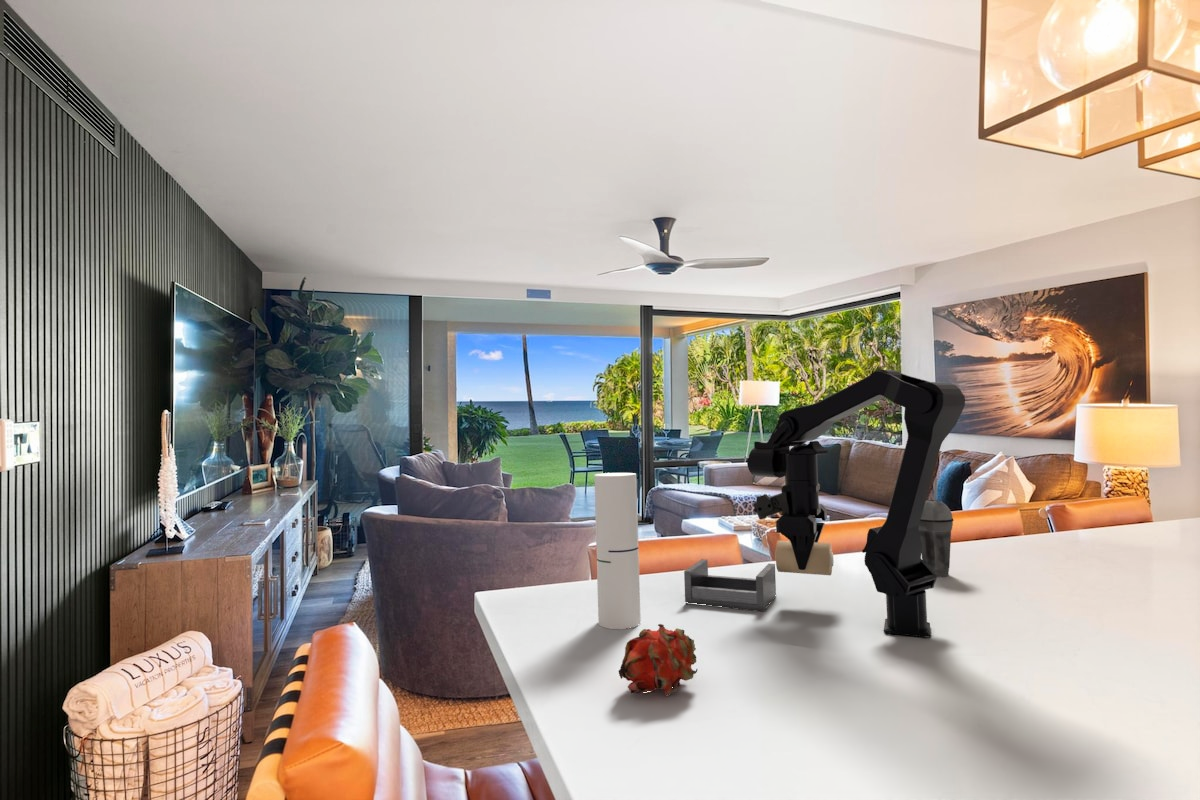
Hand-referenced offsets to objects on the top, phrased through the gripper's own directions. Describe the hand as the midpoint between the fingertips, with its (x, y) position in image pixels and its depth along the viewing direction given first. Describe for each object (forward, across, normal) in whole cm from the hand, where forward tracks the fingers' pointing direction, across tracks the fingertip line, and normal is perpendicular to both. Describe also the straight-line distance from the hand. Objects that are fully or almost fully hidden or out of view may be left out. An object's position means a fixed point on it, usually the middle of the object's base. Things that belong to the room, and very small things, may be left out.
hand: (804, 566), depth 119 cm
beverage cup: (+7, -32, +22) cm, 39 cm away
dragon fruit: (+7, +45, -11) cm, 47 cm away
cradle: (+7, +1, -13) cm, 15 cm away
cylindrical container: (+7, +21, -27) cm, 35 cm away
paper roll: (+1, 0, 0) cm, 1 cm away
